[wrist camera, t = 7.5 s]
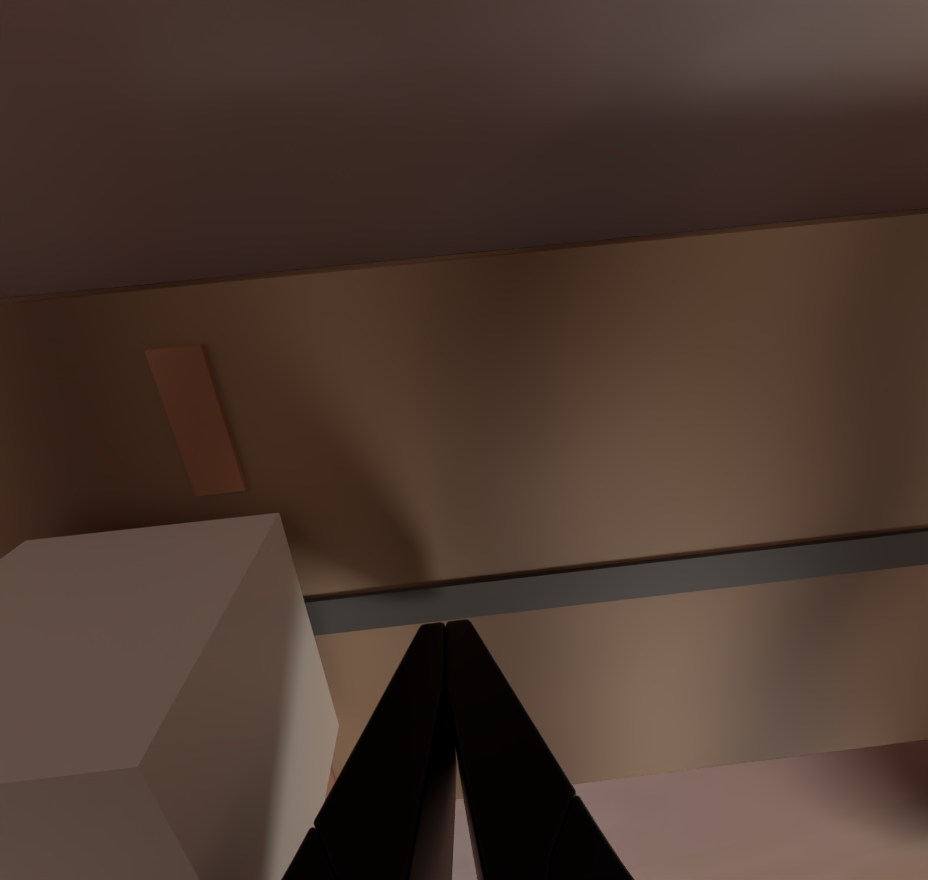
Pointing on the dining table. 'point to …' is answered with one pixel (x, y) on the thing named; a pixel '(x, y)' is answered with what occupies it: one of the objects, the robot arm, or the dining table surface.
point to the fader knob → (159, 705)
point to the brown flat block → (538, 470)
